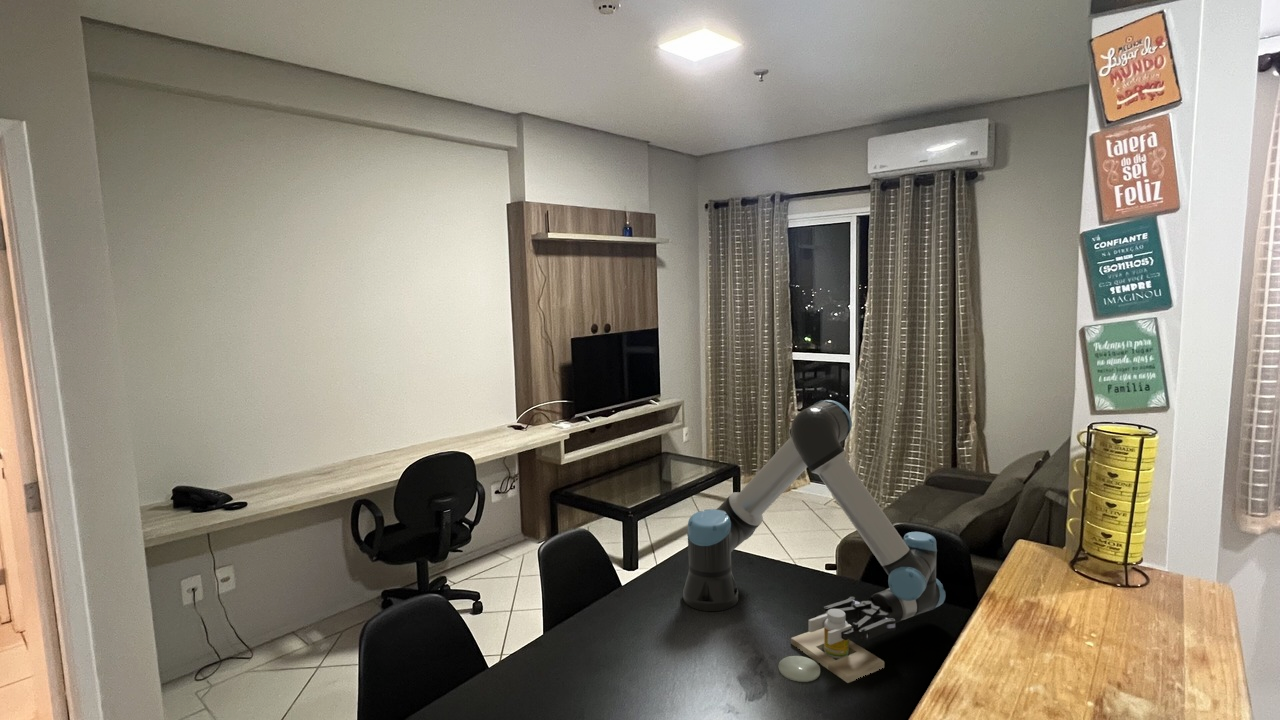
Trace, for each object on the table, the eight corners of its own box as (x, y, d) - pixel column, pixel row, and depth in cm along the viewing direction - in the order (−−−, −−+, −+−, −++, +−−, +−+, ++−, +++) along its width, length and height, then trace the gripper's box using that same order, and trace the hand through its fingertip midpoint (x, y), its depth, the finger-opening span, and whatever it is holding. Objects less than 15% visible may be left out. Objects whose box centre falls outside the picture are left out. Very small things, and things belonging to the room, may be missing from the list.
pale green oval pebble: (770, 665, 145) (770, 663, 144) (800, 654, 149) (800, 651, 149) (797, 686, 137) (797, 684, 137) (829, 673, 141) (829, 671, 141)
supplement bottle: (850, 660, 144) (850, 619, 143) (825, 658, 145) (825, 617, 144) (847, 647, 150) (847, 607, 149) (823, 645, 151) (823, 606, 150)
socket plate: (791, 643, 153) (791, 637, 153) (825, 631, 158) (825, 625, 158) (847, 683, 137) (847, 676, 137) (884, 667, 142) (884, 661, 142)
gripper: (924, 638, 147) (849, 668, 137) (862, 604, 164) (791, 629, 153) (924, 607, 147) (849, 635, 136) (862, 576, 163) (791, 599, 152)
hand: (819, 632), depth 144 cm, fingers closed on supplement bottle, 5 cm apart
